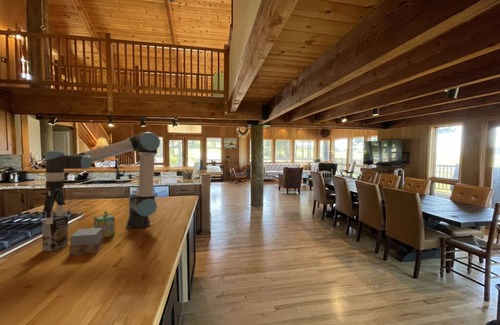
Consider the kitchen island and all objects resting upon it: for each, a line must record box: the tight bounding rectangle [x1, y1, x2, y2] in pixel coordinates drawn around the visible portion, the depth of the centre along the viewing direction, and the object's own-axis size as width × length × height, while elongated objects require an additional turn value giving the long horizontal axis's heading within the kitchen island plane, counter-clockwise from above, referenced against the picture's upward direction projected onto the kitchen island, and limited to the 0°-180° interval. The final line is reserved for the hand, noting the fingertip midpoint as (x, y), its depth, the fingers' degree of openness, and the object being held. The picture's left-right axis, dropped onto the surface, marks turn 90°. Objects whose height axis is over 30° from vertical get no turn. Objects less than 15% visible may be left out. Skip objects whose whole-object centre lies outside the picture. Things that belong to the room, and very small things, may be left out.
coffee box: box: [41, 215, 69, 252], centre depth 126 cm, size 9×6×16 cm
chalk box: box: [93, 210, 116, 239], centre depth 146 cm, size 9×9×15 cm
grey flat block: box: [69, 227, 102, 247], centre depth 125 cm, size 11×11×5 cm
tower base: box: [68, 236, 104, 257], centre depth 125 cm, size 12×12×5 cm
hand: (54, 220), depth 126 cm, fingers open, 13 cm apart
